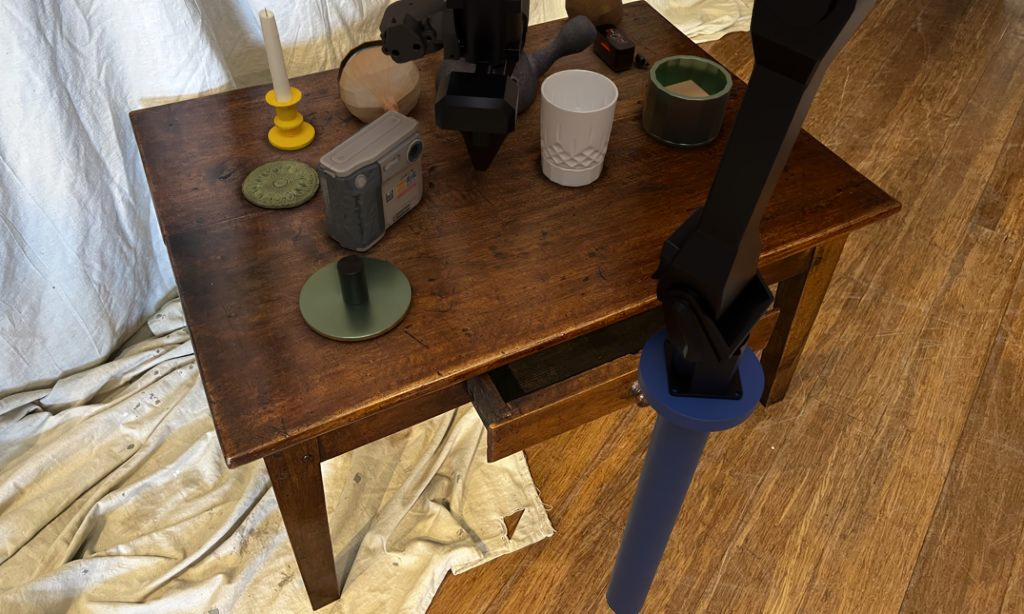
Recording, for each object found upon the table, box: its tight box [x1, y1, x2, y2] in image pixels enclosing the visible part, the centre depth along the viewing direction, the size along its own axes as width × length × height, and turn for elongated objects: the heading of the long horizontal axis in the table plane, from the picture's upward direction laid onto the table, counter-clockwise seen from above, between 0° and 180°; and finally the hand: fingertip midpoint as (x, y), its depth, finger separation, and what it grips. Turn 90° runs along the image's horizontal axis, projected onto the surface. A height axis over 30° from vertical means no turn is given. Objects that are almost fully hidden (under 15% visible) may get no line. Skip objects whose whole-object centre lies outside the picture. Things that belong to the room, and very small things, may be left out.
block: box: [665, 80, 709, 97], centre depth 93 cm, size 4×4×4 cm
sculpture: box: [336, 39, 421, 124], centre depth 90 cm, size 9×9×15 cm
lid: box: [298, 254, 413, 342], centre depth 72 cm, size 10×10×5 cm
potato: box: [564, 0, 625, 28], centre depth 107 cm, size 8×12×8 cm
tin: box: [641, 54, 733, 149], centre depth 92 cm, size 9×9×6 cm
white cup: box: [540, 69, 619, 188], centre depth 85 cm, size 8×8×10 cm
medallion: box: [241, 159, 320, 209], centre depth 84 cm, size 8×8×1 cm
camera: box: [316, 111, 425, 253], centre depth 78 cm, size 11×6×10 cm, turn 143°
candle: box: [258, 7, 316, 151], centre depth 85 cm, size 5×5×16 cm
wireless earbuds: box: [592, 24, 651, 72], centre depth 103 cm, size 5×7×3 cm, turn 26°
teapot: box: [434, 15, 597, 114], centre depth 93 cm, size 19×15×10 cm
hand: (485, 138), depth 72 cm, fingers open, 9 cm apart
